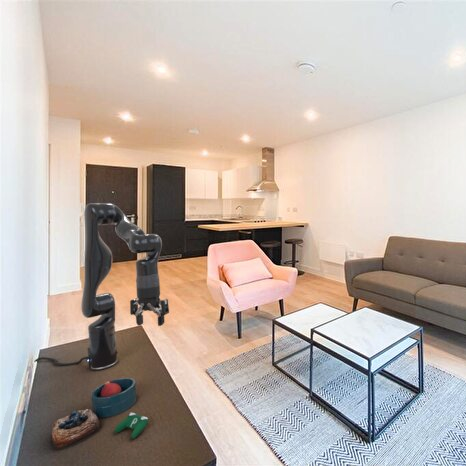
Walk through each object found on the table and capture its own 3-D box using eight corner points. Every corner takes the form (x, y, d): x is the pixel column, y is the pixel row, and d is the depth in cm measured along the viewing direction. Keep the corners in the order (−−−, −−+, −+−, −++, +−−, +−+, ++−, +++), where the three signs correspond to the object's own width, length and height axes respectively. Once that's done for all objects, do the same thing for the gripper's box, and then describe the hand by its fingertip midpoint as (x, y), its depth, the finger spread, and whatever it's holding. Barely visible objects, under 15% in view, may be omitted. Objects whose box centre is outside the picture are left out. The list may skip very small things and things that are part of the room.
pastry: (94, 415, 102) (93, 399, 101) (102, 431, 94) (101, 414, 94) (49, 433, 93) (48, 416, 93) (54, 453, 86) (52, 435, 85)
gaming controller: (141, 440, 93) (153, 419, 96) (131, 438, 90) (144, 416, 94) (121, 433, 96) (133, 412, 99) (111, 431, 93) (125, 410, 97)
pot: (83, 416, 101) (81, 397, 100) (114, 394, 113) (112, 377, 112) (116, 418, 100) (115, 399, 99) (144, 395, 112) (143, 378, 112)
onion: (112, 402, 103) (103, 382, 104) (101, 409, 104) (92, 389, 105) (128, 394, 109) (119, 374, 110) (117, 401, 110) (109, 381, 111)
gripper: (172, 282, 117) (174, 321, 119) (138, 282, 118) (140, 320, 119) (158, 287, 110) (161, 329, 111) (123, 287, 111) (125, 328, 112)
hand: (150, 324), depth 115 cm, fingers open, 8 cm apart
